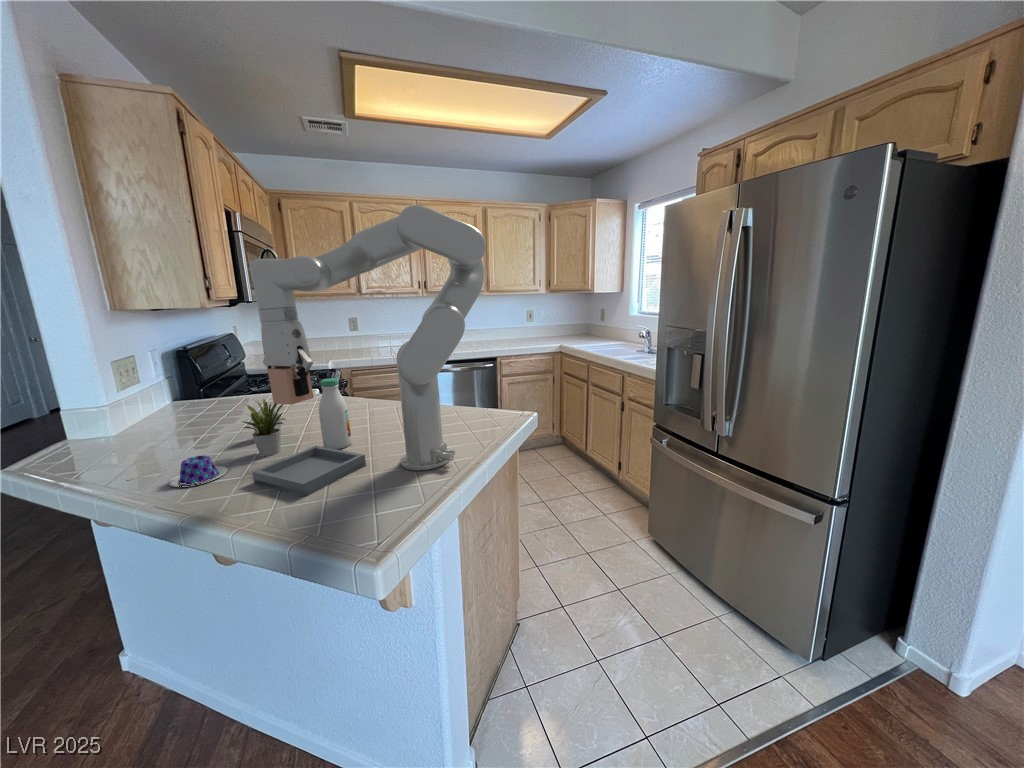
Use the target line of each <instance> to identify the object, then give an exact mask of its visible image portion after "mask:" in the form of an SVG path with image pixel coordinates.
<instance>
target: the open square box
mask: <svg viewBox="0 0 1024 768" xmlns="http://www.w3.org/2000/svg"><path fill="white" fill-rule="evenodd" d="M296 365H297V364H296ZM266 369H267V376H268V381H269V385H270V386H269V387H270V390H271V394H272V395H271V397H272V401H273V402H274V403H273V402H272V403H273V404H275V403H278V404H279V405H282V404H284V405H290V406H292V405H295V404H298V403H302V402H304V401H305V402H306V401H308V400H312V399H314V392H313V387H312V380H311V375H310V372H309V373H308V377H307V381H308V387H309V394H306V395H303V396H299V397H298V396H296V393H295V387H294V382H293V380H294V379H295V377H294V375H293V373H292V368H290V367H276V368H270V369H268V368H266ZM297 370H298V372H299V370H300V368H297ZM278 404H277V405H278Z"/></svg>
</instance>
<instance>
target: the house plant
mask: <svg viewBox="0 0 1024 768" xmlns="http://www.w3.org/2000/svg"><path fill="white" fill-rule="evenodd" d="M252 400H254V401H255V402H256V403H257V405H258V406H259V409H261V411H262V414H263V417H264V418H262V415H261V414H258V413H257V412H258V411H257V410H256V409H255V408H254V407H252V406H250V404H247V403H246V404H244V403H243V405H244V406H245V407H247V408H248V410H249V411H250V412H251V413H250V414H248V413H246V414H247V416H249V417H250V418H251V419H250V421H242V423H245V424H247V425H249V426H243V427H242V429H252V430H255V429H254V428H253V426H254V427H256V428H257V429H258V431H256V430H255V431H256V432H255V431H254V432H253V433H252V435H251V436H252V437H253V440H254V441H253V442H254V443H255V446H256V448H257V450H258V453H259V456H262V457H269V456H274V455H277V454H279V453H280V452H281V448H282V447H281V442H282V441H281V439H282V438H281V436H282V434H281V433H282V429H281V428H280V429H279V428H274V427H275V425H277V424H281V425H285V423H284V422H283V421H285V422H287V418H284V417H283V418H282V419H280V420H282V422H279V423H277V421H279V420H278V419H279V418H280V417H282V415H283V414H285V413H287V411H283V412H280V410H281V408H282V407H283V406H284V405H285V404H279V405H280V406H279V407H278V408H276V407H277V405H278V403H274V402H271V403H270V404H268V402H267V401H266V399H264V398H262V404H261V403H260V401H259V400H258V399H254V398H252ZM272 404H273V405H272ZM268 406H269V410H268ZM263 407H264V410H263ZM271 407H272V408H271ZM275 408H276V409H277V412H275V413H276V414H274V415H275V416H273V417H272V415H273V412H274V409H275ZM270 409H271V410H270ZM235 411H237V412H239V410H236V409H235ZM240 412H241V413H243V411H241V410H240ZM278 412H280V415H279V416H278V417H277V413H278ZM276 417H277V419H276V420H275V418H276ZM253 421H254V423H253ZM274 421H275V423H274ZM273 424H274V425H273ZM251 426H252V427H251Z"/></svg>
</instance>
